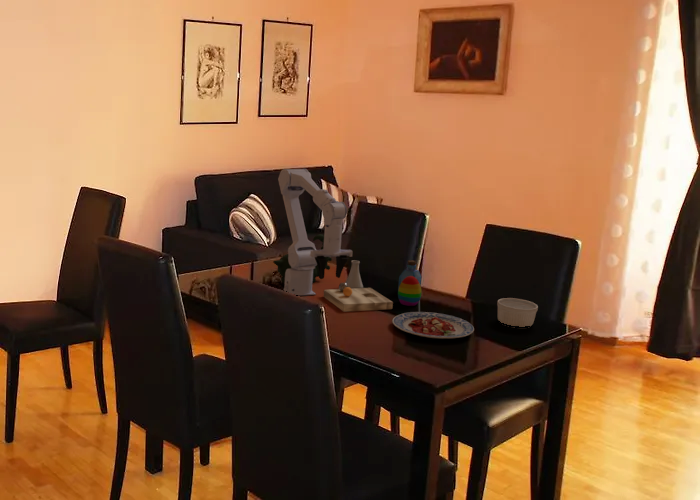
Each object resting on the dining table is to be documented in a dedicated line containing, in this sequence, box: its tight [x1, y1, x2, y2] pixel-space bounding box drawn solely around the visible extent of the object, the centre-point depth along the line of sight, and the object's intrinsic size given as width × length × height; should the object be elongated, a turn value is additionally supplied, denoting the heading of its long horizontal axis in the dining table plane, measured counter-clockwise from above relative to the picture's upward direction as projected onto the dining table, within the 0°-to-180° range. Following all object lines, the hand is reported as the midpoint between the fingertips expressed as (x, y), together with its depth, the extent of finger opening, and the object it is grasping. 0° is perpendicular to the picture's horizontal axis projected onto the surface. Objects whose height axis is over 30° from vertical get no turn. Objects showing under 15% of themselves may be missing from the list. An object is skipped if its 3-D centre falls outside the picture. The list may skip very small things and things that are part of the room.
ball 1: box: [338, 281, 348, 291], centre depth 281 cm, size 3×3×3 cm
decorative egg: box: [397, 276, 422, 307], centre depth 281 cm, size 8×8×10 cm
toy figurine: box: [272, 233, 333, 284], centre depth 298 cm, size 9×19×25 cm
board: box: [322, 287, 394, 313], centre depth 278 cm, size 18×18×2 cm
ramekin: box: [496, 297, 539, 327], centre depth 268 cm, size 13×13×7 cm
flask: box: [344, 259, 364, 289], centre depth 297 cm, size 7×7×10 cm
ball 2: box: [343, 287, 352, 296], centre depth 276 cm, size 3×3×3 cm
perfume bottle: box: [397, 259, 422, 290], centre depth 295 cm, size 6×6×12 cm
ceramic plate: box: [391, 311, 475, 340], centre depth 254 cm, size 26×26×3 cm
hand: (329, 277), depth 272 cm, fingers open, 5 cm apart
